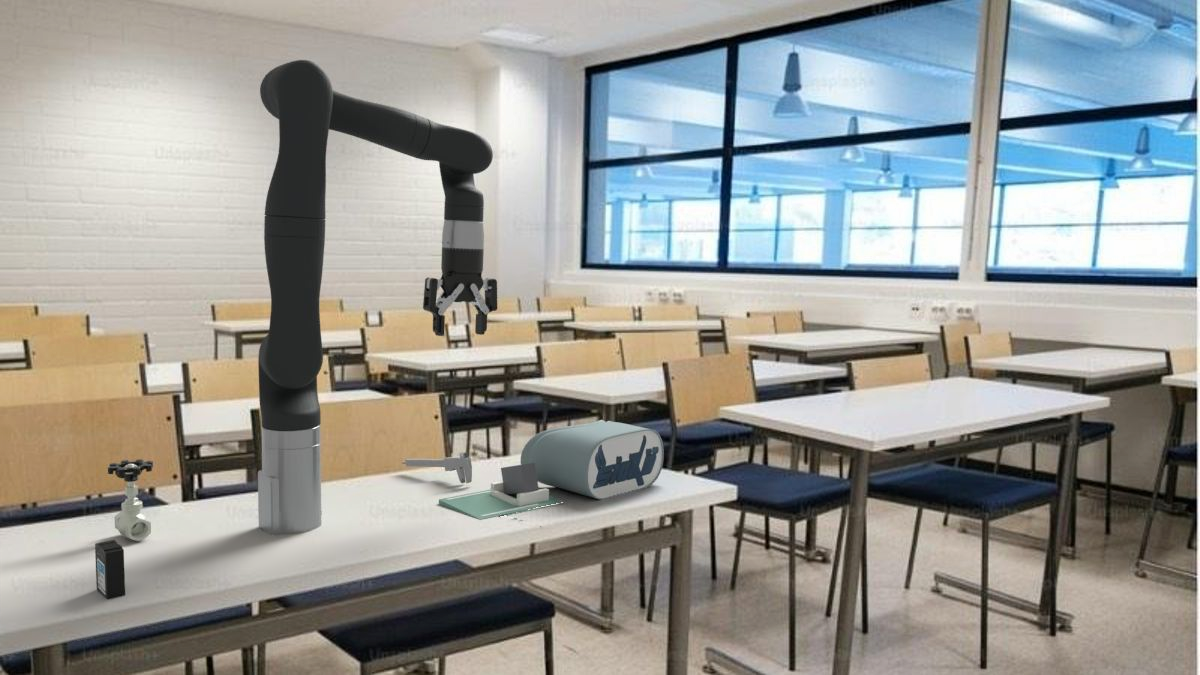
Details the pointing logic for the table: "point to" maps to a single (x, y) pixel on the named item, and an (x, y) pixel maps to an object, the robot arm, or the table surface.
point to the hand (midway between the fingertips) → (460, 334)
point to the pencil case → (596, 458)
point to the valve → (131, 500)
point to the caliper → (447, 465)
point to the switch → (519, 478)
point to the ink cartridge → (110, 569)
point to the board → (497, 502)
